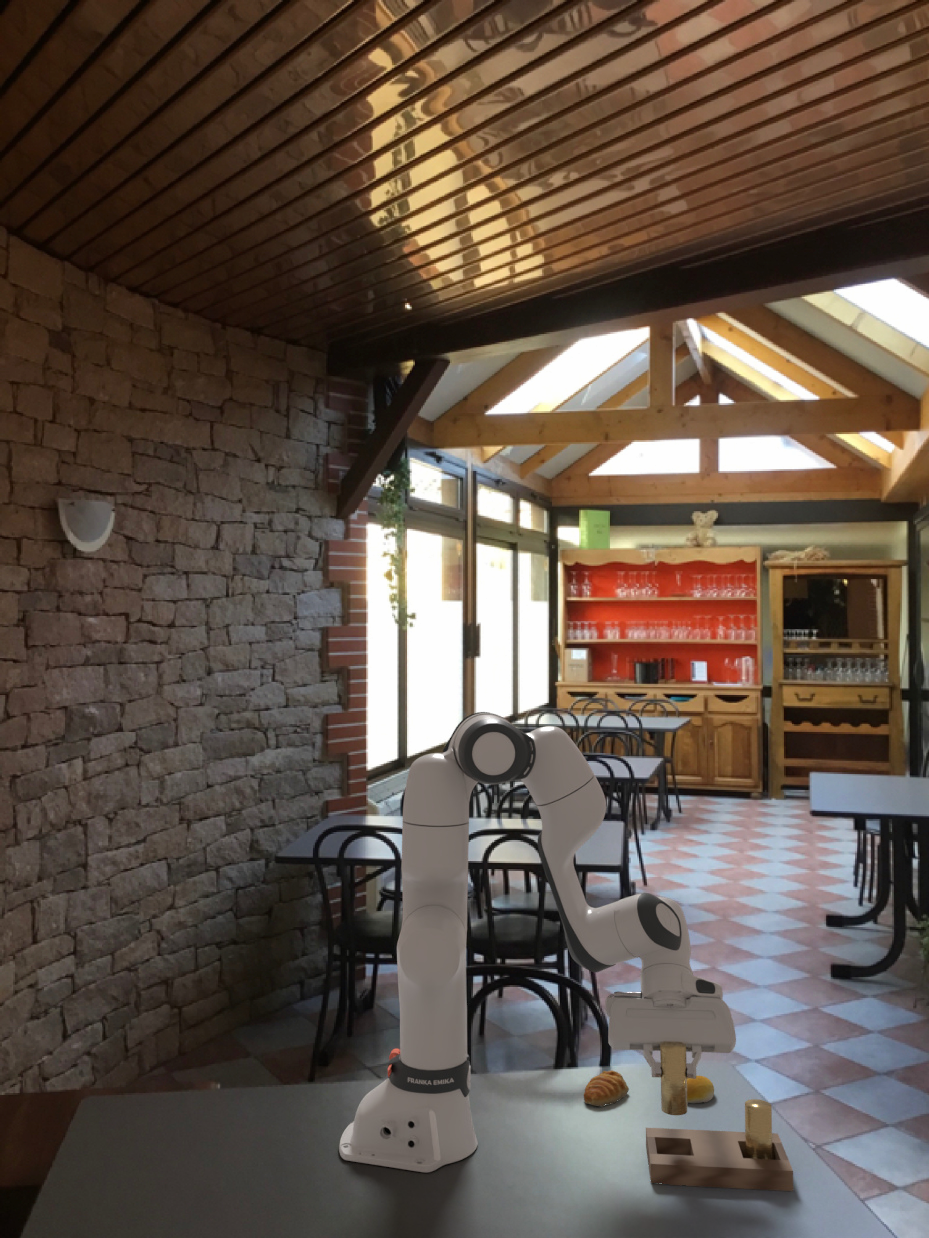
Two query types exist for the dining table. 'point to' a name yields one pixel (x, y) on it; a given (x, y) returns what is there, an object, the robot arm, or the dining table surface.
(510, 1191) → the dining table surface
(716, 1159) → the wooden socket block
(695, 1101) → the bread roll
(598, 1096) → the pastry
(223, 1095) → the dining table surface
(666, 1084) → the loose billet
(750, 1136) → the seated billet
